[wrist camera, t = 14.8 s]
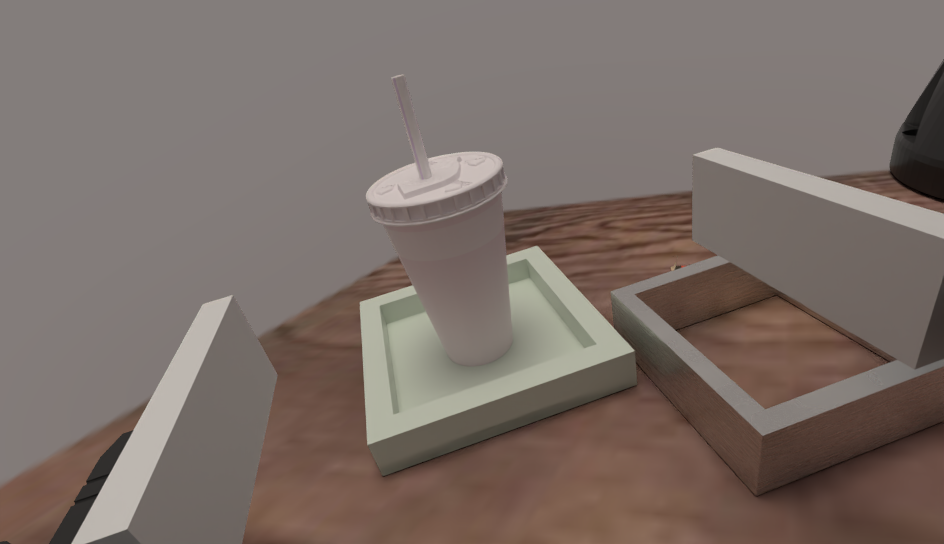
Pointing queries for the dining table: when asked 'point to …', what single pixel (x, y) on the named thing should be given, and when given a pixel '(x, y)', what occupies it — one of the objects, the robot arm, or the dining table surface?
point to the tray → (484, 367)
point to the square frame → (736, 413)
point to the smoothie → (450, 241)
